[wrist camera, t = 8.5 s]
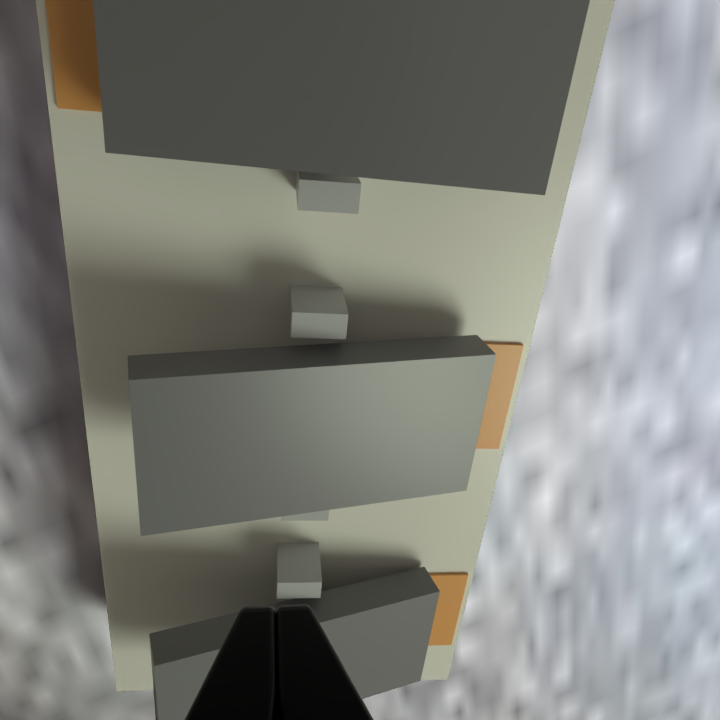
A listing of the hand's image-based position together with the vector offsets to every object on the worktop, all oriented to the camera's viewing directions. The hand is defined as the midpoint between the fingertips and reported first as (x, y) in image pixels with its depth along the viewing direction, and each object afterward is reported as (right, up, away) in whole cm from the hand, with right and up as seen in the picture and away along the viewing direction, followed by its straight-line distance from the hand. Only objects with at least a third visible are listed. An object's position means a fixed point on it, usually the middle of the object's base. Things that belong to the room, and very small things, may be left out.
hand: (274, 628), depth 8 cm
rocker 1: (+1, +9, +4) cm, 10 cm away
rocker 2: (0, +2, +8) cm, 8 cm away
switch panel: (-1, +4, +11) cm, 12 cm away
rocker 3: (-1, -5, +11) cm, 12 cm away
